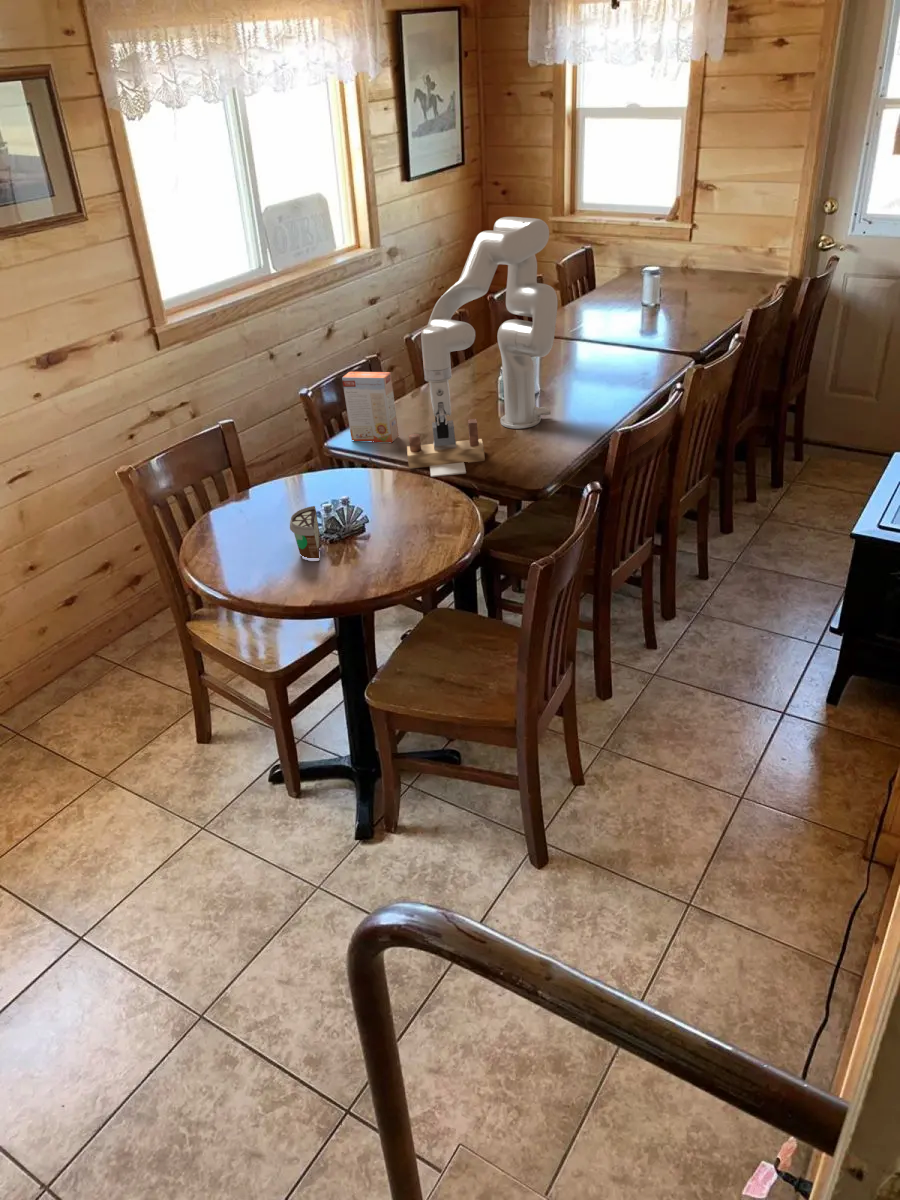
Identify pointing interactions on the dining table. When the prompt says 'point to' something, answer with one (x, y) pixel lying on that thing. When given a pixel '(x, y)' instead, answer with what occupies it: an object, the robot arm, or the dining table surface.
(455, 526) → the dining table surface
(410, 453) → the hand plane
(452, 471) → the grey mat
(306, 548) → the lidded drink cup
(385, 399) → the cracker box
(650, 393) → the dining table surface
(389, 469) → the dining table surface
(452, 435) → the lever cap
